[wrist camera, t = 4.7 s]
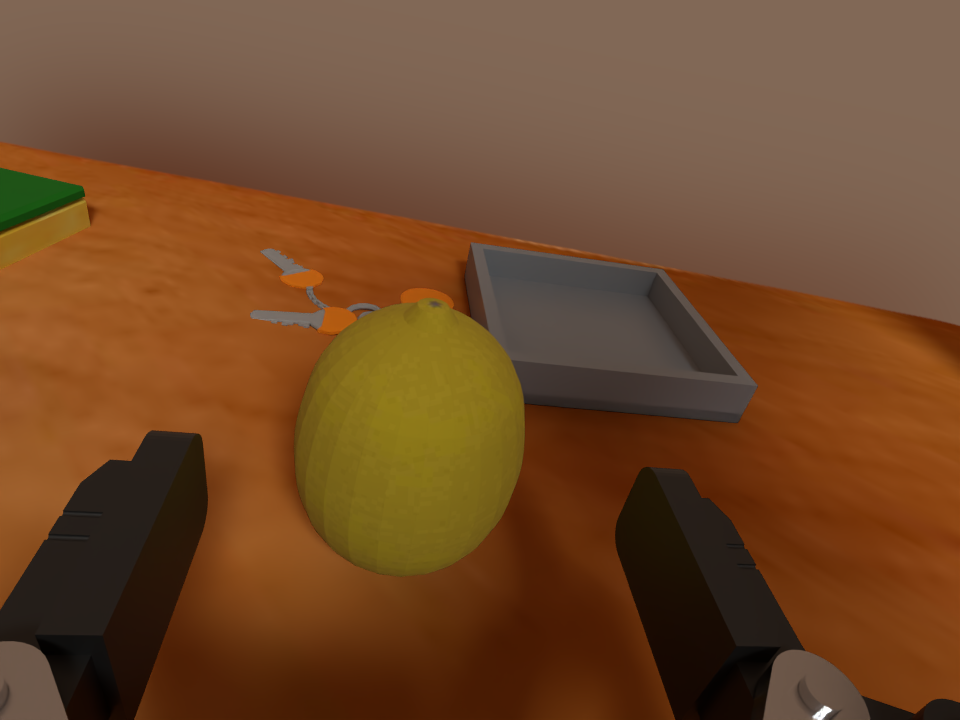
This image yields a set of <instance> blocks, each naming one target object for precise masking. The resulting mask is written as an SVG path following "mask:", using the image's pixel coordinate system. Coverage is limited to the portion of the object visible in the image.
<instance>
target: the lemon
mask: <svg viewBox="0 0 960 720" xmlns="http://www.w3.org/2000/svg"><path fill="white" fill-rule="evenodd" d="M524 440H525V411H524V398H523V393H522V388H521V384H520V381H519V379H518V376H517V373H516V371H515V368H514V366H513V364H512V361H511V359H510V357H509V356H508V354H507V353H506V351H505V350H504V349H503V347H502V346H501V345H500V344H499V342H498V341H497V340H496V339H495V337H494V336H493V335H492V334H491V333H490V332H489V331H488V330H486V329H485V328H484V327H483V326H481V325H480V324H479V323H477V322H476V321H475V320H473V319H472V318H470V317H468V316H466V315H465V314H463V313H461V312H459V311H456V310H453V309H451V308H450V307H449V305H448V304H447V303H446V302H444V301H442V300H439V299H435V298H424V299H421V300H419V301H418V302H416V303H402V304H396V305H392V306H388V307H385V308H382V309H379V310H376V311H373V312H371V313H369V314H367V315H365V316H363V317H361V318H360V319H358V320H356V321H355V322H353V323H352V324H350V325H349V326H347V327H346V328H345V329H343V330H342V331H341V332H340V333H339V334H338V335H337V336H336V337H335V339H334V340H333V341H332V342H331V343H330V344H329V346H328V347H327V348H326V349H325V350H324V351H323V353H322V354H321V356H320V358H319V359H318V361H317V363H316V364H315V366H314V369H313V371H312V373H311V375H310V378H309V381H308V384H307V387H306V390H305V393H304V396H303V399H302V402H301V405H300V409H299V413H298V416H297V421H296V427H295V434H294V460H295V474H296V482H297V488H298V492H299V496H300V498H301V501H302V503H303V506H304V508H305V510H306V512H307V515H308V517H309V519H310V521H311V523H312V525H313V527H314V528H315V530H316V532H317V533H318V534H319V535H320V536H321V537H322V538H323V540H324V541H325V542H326V543H327V544H328V545H329V546H330V547H331V548H332V549H333V550H334V551H335V552H336V553H337V554H338V555H340V556H341V557H343V558H345V559H346V560H348V561H349V562H351V563H352V564H354V565H355V566H358V567H360V568H363V569H366V570H369V571H372V572H374V573H377V574H383V575H391V576H399V577H403V576H414V575H425V574H428V573H431V572H434V571H437V570H440V569H443V568H446V567H448V566H450V565H452V564H454V563H455V562H457V561H458V560H460V559H462V558H463V557H465V556H466V555H468V554H469V553H471V552H472V551H473V550H474V549H475V548H477V547H478V546H479V545H480V543H481V542H482V541H483V540H484V539H485V538H486V536H487V535H488V534H489V533H490V532H491V531H492V530H493V528H494V527H495V526H496V525H497V523H498V522H499V520H500V519H501V517H502V515H503V514H504V511H505V509H506V507H507V505H508V503H509V500H510V498H511V495H512V493H513V491H514V488H515V486H516V483H517V480H518V477H519V474H520V470H521V466H522V460H523V453H524Z"/></svg>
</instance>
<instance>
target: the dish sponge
mask: <svg viewBox="0 0 960 720" xmlns="http://www.w3.org/2000/svg"><path fill="white" fill-rule="evenodd" d="M82 197H85V193H84V189H83V187H82V186H79V185H75V184H70V183H66V182H61V181H57V180H52V179H48V178H43V177H39V176H34V175H30V174H26V173H21V172H17V171H12V170H8V169H3V168H0V270H1V269H3V268H5V267H7V266H9V265H11V264H13V263H15V262H17V261H19V260H22V259H24V258H26V257H28V256H30V255H32V254H34V253H36V252H38V251H40V250H42V249H44V248H46V247H48V246H51V245H53V244H55V243H57V242H59V241H61V240H63V239H65V238H67V237H69V236H71V235H73V234H75V233H77V232H80V231H82V230H84V229H86V228H88V227H90V220H89V215H88V209H87V204H86V201H85V199H84V198H82Z"/></svg>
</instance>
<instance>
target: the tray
mask: <svg viewBox="0 0 960 720" xmlns="http://www.w3.org/2000/svg"><path fill="white" fill-rule="evenodd" d="M465 282H466V288H467V294H468V300H469V306H470V312H471V318H472V319H473V320H475V321H476V322H477V323H479V324H480V325H481V326H483V327H484V328H485V329H486V330H488V331H489V332H490V333H491V334H492V335H493V336H494V337H495V339H496V340H497V341H498V342H499V344H500V345H501V346H502V347H503V349H504V350H505V351H506V353H507V354H508V356H509V357H510V359H511V361H512V364H513V366H514V368H515V371H516V373H517V376H518V379H519V381H520V384H521V388H522V393H523V398H524V403H526V404H537V405H548V406H559V407H570V408H580V409H591V410H602V411H613V412H624V413H635V414H646V415H657V416H668V417H678V418H689V419H700V420H711V421H722V422H733V423H738V421H739V420H740V418H741V416H742V414H743V412H744V410H745V409H746V407H747V405H748V403H749V401H750V400H751V398H752V396H753V394H754V392H755V390H756V389H757V387H758V385H757V384H756V383H755V382H754V381H753V379H752V378H751V377H750V376H749V374H748V373H747V372H746V371H745V369H744V368H743V367H742V366H741V365H740V363H739V362H738V361H737V360H736V358H735V357H734V356H733V355H732V354H731V352H730V351H729V350H728V349H727V347H726V346H725V345H724V344H723V342H722V341H721V340H720V339H719V338H718V336H717V335H716V334H715V333H714V331H713V330H712V329H711V328H710V326H709V325H708V324H707V323H706V322H705V320H704V319H703V318H702V317H701V315H700V314H699V313H698V312H697V311H696V309H695V308H694V307H693V306H692V304H691V303H690V302H689V301H688V299H687V298H686V297H685V296H684V295H683V293H682V292H681V291H680V290H679V288H678V287H677V286H676V285H675V283H674V282H673V281H672V280H671V279H670V277H669V276H668V275H667V274H666V272H665V271H664V270H663V269H656V268H649V267H642V266H635V265H627V264H620V263H613V262H606V261H599V260H592V259H585V258H578V257H571V256H563V255H556V254H549V253H542V252H535V251H528V250H521V249H514V248H507V247H499V246H492V245H485V244H478V243H471V244H470V250H469V255H468V260H467V266H466V271H465Z"/></svg>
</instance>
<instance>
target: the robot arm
mask: <svg viewBox="0 0 960 720" xmlns="http://www.w3.org/2000/svg"><path fill="white" fill-rule="evenodd" d="M207 506H208V493H207V482H206V472H205V462H204V451H203V442H202V437H201V435H200V434H196V433H182V432H168V431H154V430H152V431H150V432H148V434H147V435H146V436H145V438H144V439H143V441H142V443H141V445H140V447H139V448H138V450H137V452H136V454H135V456H134V457H133V459H132V461H123V460H109V461H108V462H106V463H105V464H104V465H103V466H101V467H100V468H99V469H97V470H96V471H95V472H94V473H92V474H91V475H90V476H89V477H87V478H86V479H85V480H83V481H82V482H81V483H80V485H79V486H78V488H77V489H76V491H75V493H74V494H73V496H72V497H71V499H70V501H69V502H68V504H67V505H66V507H65V508H64V510H63V515H62V516H59V518H58V520H57V521H56V523H55V524H54V526H53V527H52V529H51V531H50V532H49V536H48V539H47V540H44V542H43V543H42V545H41V546H40V548H39V550H38V551H37V553H36V554H35V556H34V558H33V559H32V561H31V562H30V564H29V565H28V567H27V569H26V570H25V572H24V573H23V575H22V577H21V578H20V580H19V581H18V583H17V584H16V586H15V588H14V589H13V591H12V592H11V594H10V596H9V597H8V599H7V600H6V602H5V603H4V605H3V607H2V608H1V610H0V720H134V718H135V715H136V712H137V710H138V707H139V704H140V701H141V699H142V696H143V693H144V691H145V688H146V685H147V682H148V680H149V677H150V674H151V671H152V669H153V666H154V663H155V660H156V658H157V655H158V652H159V649H160V647H161V644H162V641H163V638H164V636H165V633H166V630H167V628H168V625H169V622H170V619H171V617H172V614H173V611H174V608H175V606H176V603H177V600H178V597H179V595H180V592H181V589H182V586H183V584H184V581H185V578H186V576H187V573H188V570H189V567H190V565H191V562H192V559H193V556H194V554H195V551H196V548H197V545H198V543H199V540H200V537H201V534H202V531H203V528H204V524H205V520H206V514H207ZM615 541H616V548H617V552H618V555H619V558H620V561H621V564H622V567H623V570H624V572H625V575H626V578H627V581H628V584H629V587H630V590H631V593H632V596H633V598H634V601H635V604H636V607H637V610H638V613H639V616H640V619H641V622H642V624H643V627H644V630H645V633H646V636H647V639H648V642H649V645H650V647H651V650H652V653H653V656H654V659H655V662H656V665H657V668H658V671H659V673H660V676H661V679H662V682H663V685H664V688H665V691H666V694H667V697H668V699H669V702H670V705H671V708H672V711H673V714H674V717H675V720H960V703H959V702H956V701H952V700H947V699H936V700H933V701H931V702H929V703H928V704H927V705H926V706H925V707H923V708H922V709H921V710H920V711H919V712H917V713H916V714H914V713H911V712H908V711H905V710H902V709H899V708H896V707H893V706H890V705H887V704H884V703H882V702H879V701H876V700H873V699H870V698H867V697H864V696H861V695H860V693H859V692H858V690H857V689H856V687H855V686H854V685H853V684H852V682H851V681H850V680H849V679H848V678H847V677H846V676H845V675H844V674H843V673H842V672H841V671H840V670H839V669H837V668H836V667H835V666H834V665H832V664H831V663H829V662H828V661H826V660H825V659H823V658H821V657H819V656H817V655H815V654H812V653H810V652H806V651H805V650H804V648H803V646H802V645H801V643H800V641H799V640H798V638H797V636H796V634H795V633H794V631H793V629H792V627H791V626H790V624H789V622H788V620H787V618H786V617H785V615H784V613H783V611H782V610H781V608H780V606H779V604H778V603H777V601H776V599H775V597H774V596H773V594H772V592H771V590H770V589H769V587H768V585H767V583H766V581H765V580H764V578H763V576H762V574H761V573H760V571H759V570H757V569H756V568H755V565H756V564H755V562H754V560H753V559H752V557H751V555H750V553H749V552H748V550H747V549H744V543H743V541H742V539H741V537H740V536H739V534H738V532H737V530H736V529H735V527H734V525H733V523H732V522H731V520H730V519H729V518H728V517H727V516H726V515H725V514H724V513H723V512H722V511H721V510H720V509H719V508H718V507H717V506H716V505H715V504H714V503H713V502H712V501H711V500H710V499H709V498H701V496H700V494H699V493H698V491H697V489H696V487H695V485H694V483H693V481H692V480H691V478H690V476H689V475H688V473H687V472H686V471H684V470H681V469H667V468H653V467H645V468H643V469H642V470H641V471H640V472H639V474H638V476H637V478H636V480H635V483H634V485H633V487H632V489H631V491H630V494H629V496H628V498H627V500H626V502H625V504H624V507H623V509H622V511H621V513H620V515H619V518H618V520H617V524H616V531H615Z"/></svg>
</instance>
